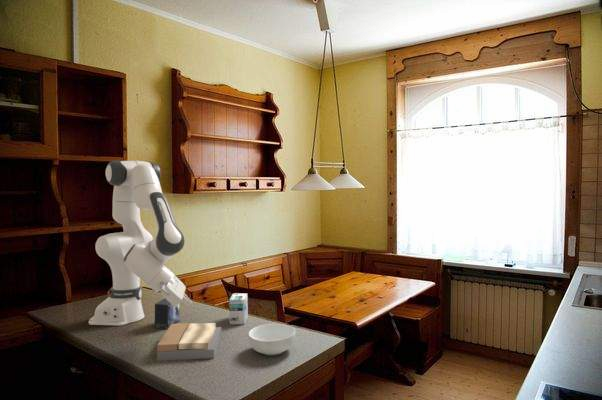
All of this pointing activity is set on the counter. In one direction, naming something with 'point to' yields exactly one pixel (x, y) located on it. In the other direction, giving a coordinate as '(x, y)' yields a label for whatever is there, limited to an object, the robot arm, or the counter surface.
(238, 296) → the light bulb box
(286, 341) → the cereal bowl
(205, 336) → the birch plank
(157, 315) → the small box
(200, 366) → the counter surface
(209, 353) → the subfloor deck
